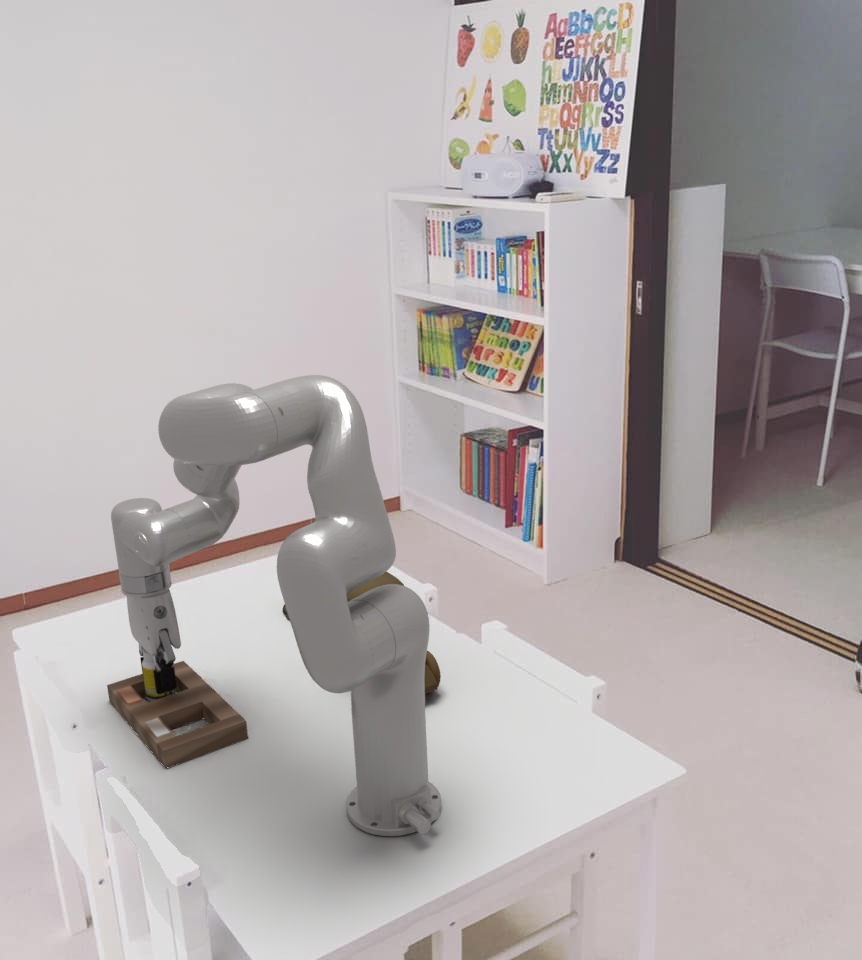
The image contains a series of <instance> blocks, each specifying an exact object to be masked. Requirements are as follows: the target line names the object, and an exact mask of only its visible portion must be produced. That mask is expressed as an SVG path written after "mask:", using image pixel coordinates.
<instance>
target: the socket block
mask: <svg viewBox="0 0 862 960" xmlns="http://www.w3.org/2000/svg"><path fill="white" fill-rule="evenodd" d="M174 670H175V678H176V685H177V687H176V693H175V694H172V695H169V696H166V697H163V698H160V699H157V700H154V701H148V702H147V701H145V699H147V698H146V692H145V684H144V679H143V673H140V674H138V675H135V676H131V677H129V678H128V677H127V678H125V679H122V680H119V681H116V682H112V683H110V684H107V685H106V687H107V693H108V694H107V695H108V701H109V703H110V704H111V705H112V707H113V708H114V709H115V710H116V712H117V713H118V714H119V715H120V716H121V717H122V719H123V720H124V719H125V720H126V721H127V722H128V723H127V722H126V721H125V720H124V721H125V722H126V723H127V724H128V726H129V725H130V726H131V727H132V728H133V729H132V728H131V727H130V726H129V727H130V728H131V729H132V730H133V732H134V731H135V732H136V733H137V734H138V735H139V736H138V735H137V734H136V733H135V732H134V733H135V734H136V735H137V736H138V738H139V737H140V738H141V739H142V740H143V741H144V742H143V741H142V740H141V739H140V738H139V739H140V740H141V741H142V742H143V744H144V743H145V744H146V745H147V746H148V747H149V748H148V747H147V746H146V745H145V744H144V745H145V746H146V747H147V748H148V750H149V749H150V750H151V751H152V752H153V753H152V752H151V751H150V750H149V751H150V752H151V753H152V755H153V756H154V755H155V756H156V757H157V758H156V757H155V756H154V757H155V758H156V759H157V760H158V759H159V760H158V762H159V761H160V762H161V763H162V764H163V765H164V766H163V765H162V764H161V763H160V762H159V763H160V764H161V765H162V766H163V768H164V767H165V768H167V767H170V766H172V765H175V766H177V765H176V764H178V765H180V764H183V763H186V762H189V761H192V760H193V759H196V758H199V757H201V756H204V755H207V754H210V753H212V752H215V751H219V750H221V749H223V748H226V747H229V746H231V745H234V744H237V743H239V742H242V741H245V740H248V739H249V735H248V725H247V720H246V719H245V718H244V717H243V716H242V715H241V714H240V713H239V712H237V710H236V709H234V707H232V706H231V704H229V703H228V702H227V701H226V700H225V699H224V698H223V697H222V696H221V695H220V694H219V693H218V692H217V691H216V690H215V689H214V688H213V687H212V686H211V685H209V684H208V683H207V681H205V679H203V678H202V677H201V676H200V675H199V673H197V672H196V671H195V670H194V669H193V668H192V667H190V666H189V664H188V663H186V662H185V660H182V661H178V662H174ZM200 720H204V721H206V723H207V725H205V726H201V727H198V728H196V729H192V730H190V731H187V732H184V733H181V734H178V735H176V734H175V733H174V732H173V731H172V730H176V729H179V728H181V727H185V726H186V725H189V724H192V723H193V724H194V723H195V722H199V721H200ZM182 762H183V763H182ZM172 767H173V766H172ZM165 768H164V769H165ZM170 768H171V767H170ZM167 769H168V768H167Z"/></svg>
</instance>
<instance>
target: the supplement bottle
mask: <svg viewBox="0 0 862 960" xmlns="http://www.w3.org/2000/svg"><path fill="white" fill-rule="evenodd" d="M161 649H162V648H161V647H159V648H158V649H156V651H158V650H161ZM142 657H143V658H144V660H143V661H142V666H141V670H142V669H143V673H142V674H143V676H144V684H145V692H146V698H145V699H147V700H148V702H151V701H154V700H157V699H160V698H163V697H166V696H169V695H172V694H175V693H177V690H176V689H174V690H171V691H168V692H165V693H162V694H157V692H156V688H155V681H154V673H153V671H154V670H155V666H154V662H153V657H152V655H151V654H150V653H148V652H147V651H146V650H145V649H144V648H143V656H142ZM163 657H164V654H163V655H159V656H158V659H159V662H160V660H161V659H163Z"/></svg>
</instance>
